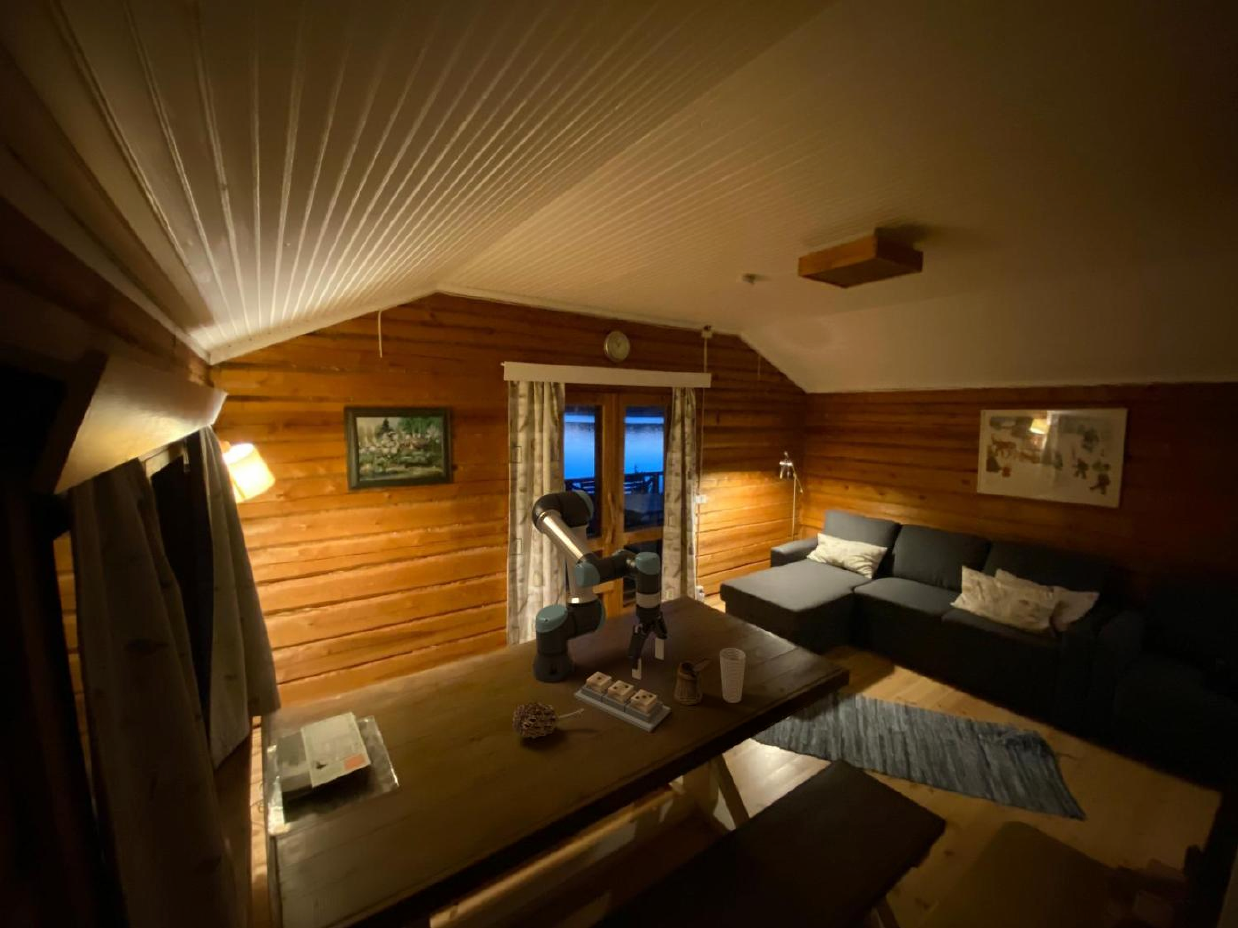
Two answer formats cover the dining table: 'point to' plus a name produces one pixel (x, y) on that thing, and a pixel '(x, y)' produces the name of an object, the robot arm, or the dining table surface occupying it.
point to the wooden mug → (689, 682)
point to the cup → (732, 673)
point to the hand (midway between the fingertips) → (648, 667)
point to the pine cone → (538, 719)
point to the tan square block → (599, 682)
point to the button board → (623, 708)
